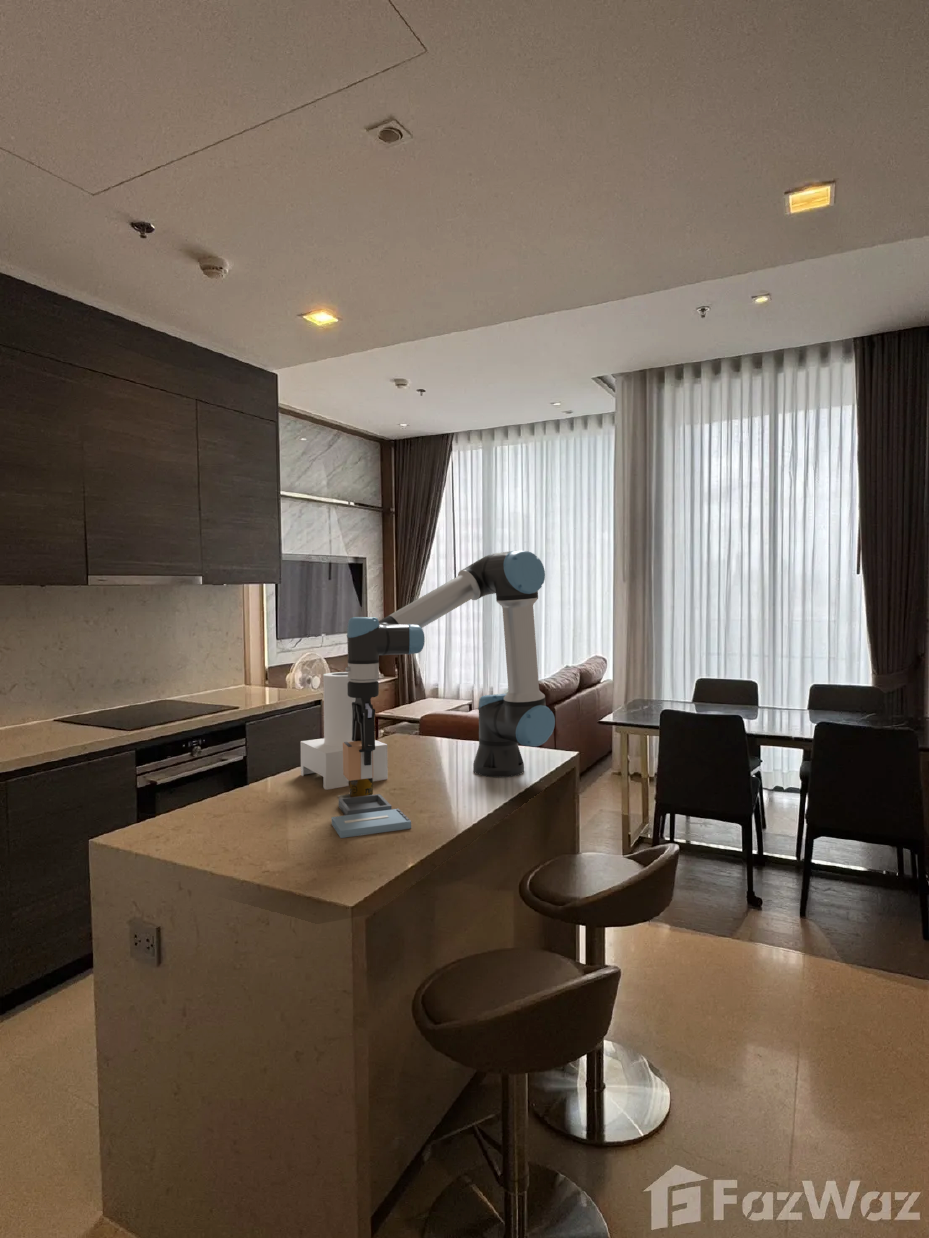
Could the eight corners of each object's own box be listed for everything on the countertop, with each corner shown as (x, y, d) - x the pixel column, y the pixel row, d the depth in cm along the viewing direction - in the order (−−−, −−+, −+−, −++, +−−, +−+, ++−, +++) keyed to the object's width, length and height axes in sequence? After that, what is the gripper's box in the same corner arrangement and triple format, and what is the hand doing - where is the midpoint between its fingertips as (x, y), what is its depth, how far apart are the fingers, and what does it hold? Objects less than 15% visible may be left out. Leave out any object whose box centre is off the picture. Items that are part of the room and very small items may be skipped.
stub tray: (379, 801, 175) (379, 793, 175) (391, 813, 166) (391, 805, 165) (338, 806, 171) (338, 798, 171) (347, 819, 162) (347, 810, 161)
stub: (367, 771, 171) (366, 739, 171) (373, 777, 166) (372, 744, 166) (343, 774, 169) (342, 741, 169) (348, 780, 164) (348, 746, 163)
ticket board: (398, 815, 164) (398, 807, 164) (411, 828, 155) (411, 820, 155) (331, 823, 158) (331, 816, 158) (340, 838, 149) (340, 829, 149)
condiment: (379, 798, 178) (378, 752, 178) (348, 804, 174) (348, 757, 173) (366, 791, 184) (366, 747, 184) (337, 797, 180) (336, 751, 179)
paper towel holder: (387, 779, 197) (386, 674, 196) (326, 789, 187) (324, 679, 186) (359, 765, 213) (358, 669, 212) (300, 775, 202) (299, 673, 201)
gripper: (339, 676, 175) (339, 767, 175) (357, 685, 157) (357, 786, 158) (368, 675, 178) (368, 764, 178) (388, 684, 160) (388, 782, 161)
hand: (363, 774), depth 168 cm, fingers closed on stub, 6 cm apart
